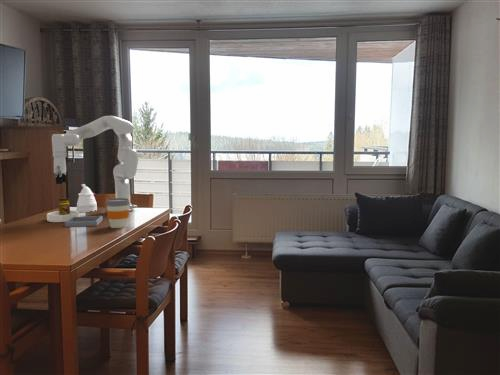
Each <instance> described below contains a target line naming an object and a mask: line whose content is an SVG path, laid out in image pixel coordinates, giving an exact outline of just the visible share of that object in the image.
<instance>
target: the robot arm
mask: <svg viewBox="0 0 500 375" xmlns="http://www.w3.org/2000/svg"><path fill="white" fill-rule="evenodd" d="M111 129H112V130H113V131H114V133H115V135H117V137H118V140H119V142H118V143H119V144H118V150H117V160H118V161H119V162H120V163H121V164H120V163H119V164H117V165H115V166H114V167H113V171H112V174H113V178H114V189H115V191H114V192H115V198H127V199H129V202H130V204H129V212H132V211H134V209H133V208H136V209H137V208H138V205H137V204H132V203H131V185H130V180H132V179H133V178H135V176H136V175H137V170H138V163H139V153H138V152H137V150H136V149H134V148H133V138H132V135H131V134H132V133H133V132H134V129H135V126H134V124H133V123H132V122H130V121H129V120H126V119H123V118H120V117H118V116H115V115H104V116H102V117H99V118H97V119H95V120H93V121H91V122H89V123H87V124H84V125H81V126H79V127H77V128H74V129H73V130H72V129H71V130H70V131H68V132H66V133H53V134H52V135H51V146H52V157H53V174H55V184H56V185H62V184H63V183H67V160H66V158H67V154H68V153H67V147H76V146H79V144H80V143H81V140H84V139H87V138H89V139H90V138H92V137H95V136H97V135H99V134H102V133H103V132H105V131H108V130H111ZM122 163H124V164H122Z"/></svg>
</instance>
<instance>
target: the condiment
mask: <svg viewBox="0 0 500 375" xmlns="http://www.w3.org/2000/svg"><path fill="white" fill-rule="evenodd" d="M69 200H70V199H69V198H68V197H64V198H59V199H58V209H59V210H58V211H59V215H66V214H70V209H71V208H70V205H71V204H70V201H69Z"/></svg>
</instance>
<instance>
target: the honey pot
mask: <svg viewBox="0 0 500 375" xmlns="http://www.w3.org/2000/svg"><path fill="white" fill-rule="evenodd" d="M81 187H82V189H81V190H80V193H78V194H77V195H78V199H77V202H76V211H78V212H79V213H90V211H92V212H96V211H97V210H98V206H97V201H96V197H95V196H94V192H93V191H92V190H91V188H90V187H88V186H86V184H85V183H83V184H81ZM95 210H96V211H95Z"/></svg>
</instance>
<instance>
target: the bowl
mask: <svg viewBox="0 0 500 375" xmlns="http://www.w3.org/2000/svg"><path fill="white" fill-rule="evenodd" d="M72 217H80V212H78V211H77V210H70V214H66V215H59V210H56V211H51V212H48V213H46V220H47V221H46V222H49V223H65V222H66V221H68V220H69V219H71V218H72Z"/></svg>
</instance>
